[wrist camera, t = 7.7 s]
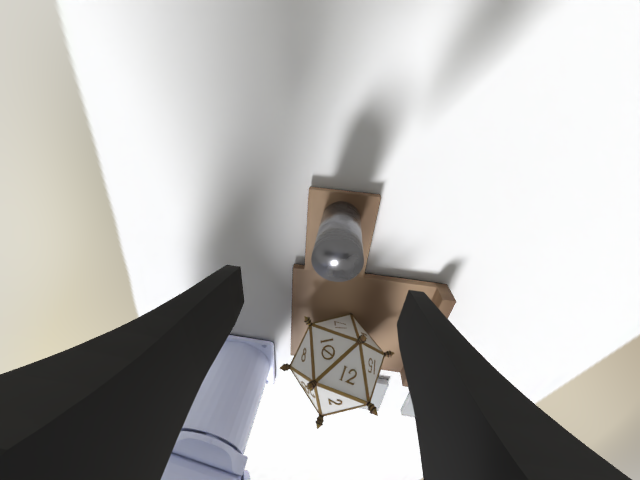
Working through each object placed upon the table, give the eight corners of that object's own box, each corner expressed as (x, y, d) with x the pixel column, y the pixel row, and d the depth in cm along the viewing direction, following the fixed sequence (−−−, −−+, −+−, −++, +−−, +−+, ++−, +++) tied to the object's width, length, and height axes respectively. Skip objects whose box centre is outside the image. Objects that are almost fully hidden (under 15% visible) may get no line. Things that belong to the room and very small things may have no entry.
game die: (340, 311, 28) (311, 407, 24) (292, 281, 23) (244, 397, 19) (416, 328, 22) (394, 462, 18) (375, 293, 16) (329, 470, 12)
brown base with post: (291, 350, 26) (277, 409, 21) (296, 185, 17) (271, 219, 12) (408, 368, 25) (423, 434, 20) (482, 206, 16) (545, 252, 11)
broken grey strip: (327, 397, 31) (327, 402, 30) (332, 370, 28) (332, 375, 27) (452, 418, 30) (454, 424, 29) (471, 393, 27) (473, 398, 26)
